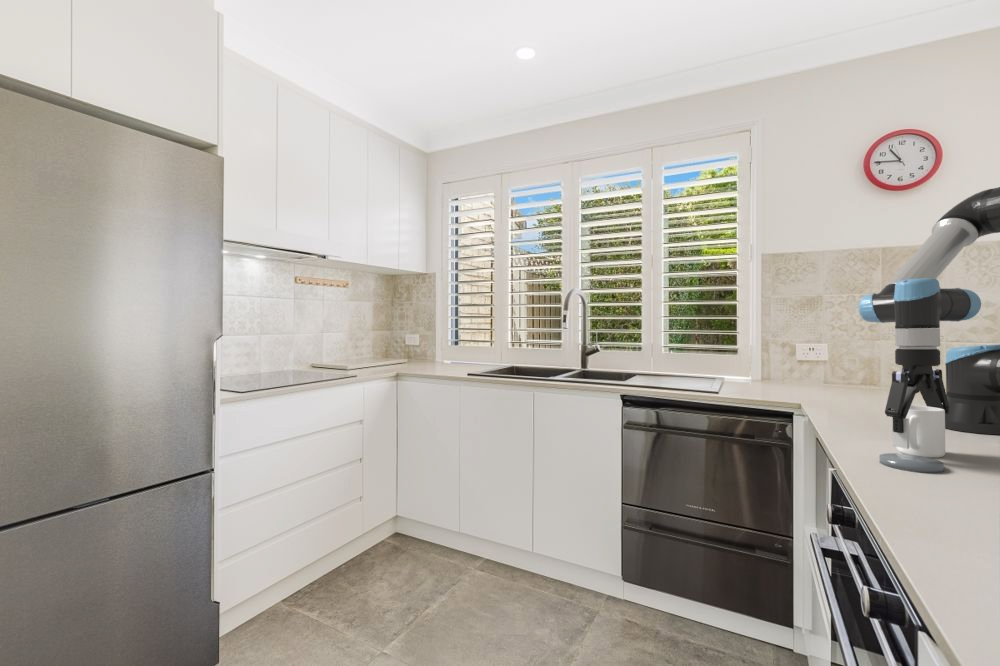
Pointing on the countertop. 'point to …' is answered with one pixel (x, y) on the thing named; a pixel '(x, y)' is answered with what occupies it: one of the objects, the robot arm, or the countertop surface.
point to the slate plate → (911, 462)
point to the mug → (926, 432)
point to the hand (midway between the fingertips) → (918, 444)
